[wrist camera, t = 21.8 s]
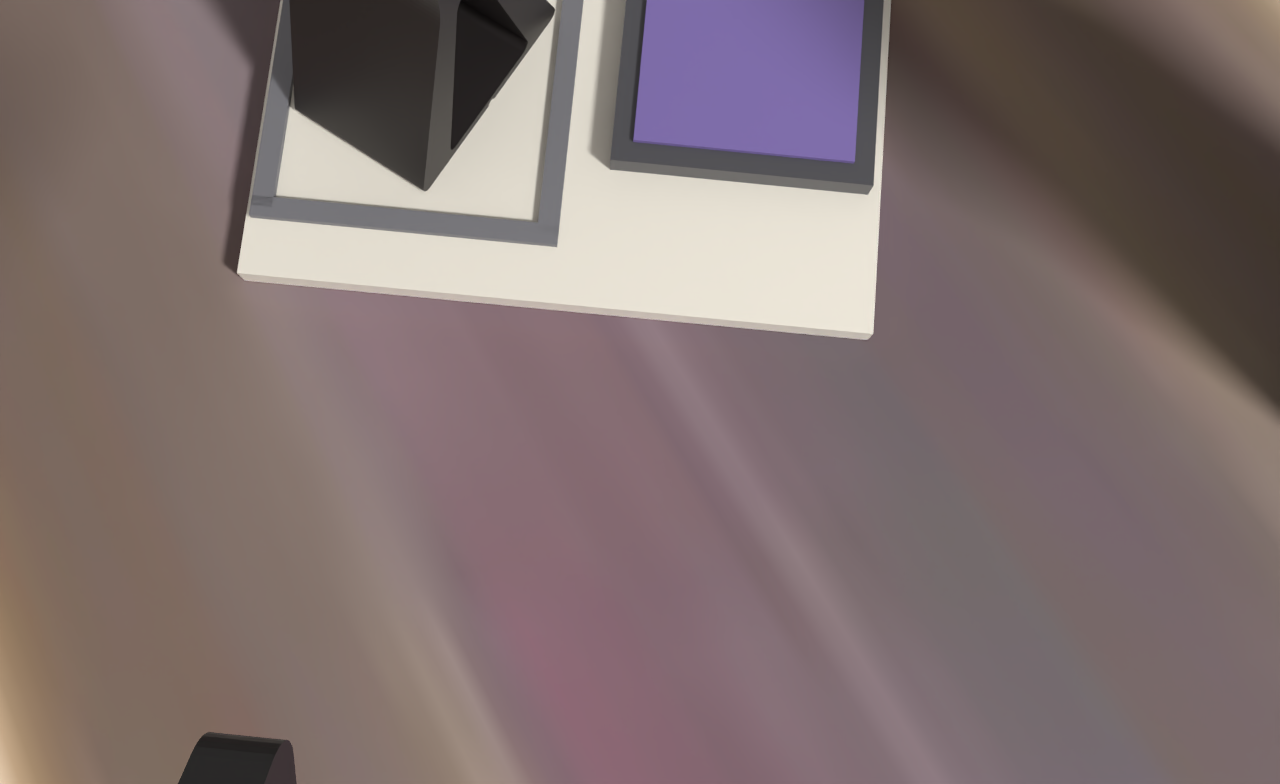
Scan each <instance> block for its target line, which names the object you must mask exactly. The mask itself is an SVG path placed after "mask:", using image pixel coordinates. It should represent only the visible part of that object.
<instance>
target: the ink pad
mask: <svg viewBox="0 0 1280 784" xmlns="http://www.w3.org/2000/svg"><path fill="white" fill-rule="evenodd" d="M883 5H884V0H626V7H625V17H624V27H623V37H622V47H621V57H620V67H619V77H618V87H617V97H616V107H615V117H614V127H613V137H612V147H611V157H610V170H619V171H629V172H639V173H650V174H660V175H670V176H680V177H691V178H701V179H711V180H721V181H732V182H742V183H752V184H762V185H772V186H783V187H793V188H803V189H813V190H824V191H834V192H844V193H854V194H865V195H868V194H869V192H870V190H871V189H872V187H873V186H874V169H875V150H876V132H877V114H878V96H879V78H880V59H881V41H882V23H883Z"/></svg>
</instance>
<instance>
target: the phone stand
mask: <svg viewBox="0 0 1280 784" xmlns="http://www.w3.org/2000/svg"><path fill="white" fill-rule="evenodd" d="M289 4H290V24H291V44H292V65H293V85H294V105H295V110H297V111H299V112H300V113H302V114H303V115H305V116H306V117H308V118H310V119H311V120H313V121H314V122H316V123H317V124H319V125H321V126H322V127H324V128H325V129H327V130H328V131H330V132H332V133H333V134H335V135H336V136H338V137H339V138H341V139H343V140H344V141H346V142H347V143H349V144H350V145H352V146H354V147H355V148H357V149H358V150H360V151H361V152H363V153H365V154H366V155H368V156H369V157H371V158H372V159H374V160H376V161H377V162H379V163H380V164H382V165H384V166H385V167H387V168H388V169H390V170H391V171H393V172H395V173H396V174H398V175H399V176H401V177H402V178H404V179H406V180H407V181H409V182H410V183H412V184H413V185H415V186H417V187H418V188H420V189H421V190H423V191H427V190H428V189H429V188H430V187H431V185H432V184H433V183H434V181H435V180H436V179H437V177H438V176H439V174H440V173H441V172H442V170H443V169H444V167H445V166H446V165H447V163H448V162H449V161H450V159H451V158H452V156H453V155H454V154H455V152H456V151H457V149H458V148H459V147H460V145H461V144H462V143H463V141H464V140H465V138H466V137H467V136H468V134H469V133H470V132H471V130H472V129H473V127H474V126H475V125H476V123H477V122H478V120H479V119H480V118H481V116H482V115H483V114H484V112H485V111H486V109H487V108H488V107H489V103H490V101H491V100H492V99H494V98H495V97H496V96H497V94H498V93H499V91H500V90H501V89H502V87H503V86H504V84H505V83H506V82H507V80H508V79H509V78H510V76H511V75H512V73H513V72H514V71H515V69H516V68H517V67H518V65H519V64H520V62H521V61H522V60H523V58H524V57H525V55H526V54H527V53H528V51H529V50H530V49H531V47H532V46H533V44H534V43H535V42H536V40H537V39H538V37H539V36H540V35H541V33H542V32H543V31H544V29H545V28H546V26H547V25H548V24H549V22H550V21H551V19H552V18H553V15H554V13H555V8H554V7H553V6H552V5H551V4H550V3H549V2H548V1H547V0H289Z"/></svg>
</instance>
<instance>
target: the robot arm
mask: <svg viewBox="0 0 1280 784" xmlns="http://www.w3.org/2000/svg"><path fill="white" fill-rule="evenodd" d="M178 784H296V774H295V765H294V755H293V748H292V745H291V743H290V741H288V740H281V739H271V738H261V737H251V736H242V735H232V734H222V733H212V732H208V733H206V734H204V735H203V736H202V737H201V738H200V740H199V741H198V742H197V744H196V746H195V748H194V750H193V752H192V754H191V756H190V758H189V760H188V763H187V765H186V767H185V769H184V772H183V774H182V776H181V778H180V781H179V783H178Z"/></svg>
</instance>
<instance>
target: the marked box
mask: <svg viewBox="0 0 1280 784" xmlns="http://www.w3.org/2000/svg"><path fill="white" fill-rule="evenodd" d="M583 1H584V0H563V1H562V10H561V19H560V28H559V37H558V46H557V55H556V64H555V73H554V82H553V92H552V101H551V110H550V119H549V128H548V137H547V146H546V155H545V164H544V173H543V182H542V191H541V200H540V209H539V218H538V223H537V222H527V221H517V220H506V219H496V218H486V217H475V216H465V215H455V214H444V213H434V212H424V211H413V210H403V209H393V208H382V207H372V206H362V205H351V204H341V203H331V202H320V201H310V200H300V199H289V198H279V197H276V193H277V186H278V180H279V173H280V167H281V161H282V154H283V148H284V141H285V135H286V128H287V122H288V115H289V109H290V103H291V96H292V90H293V65H292V44H291V24H290V4H289V0H283V4H282V10H281V16H280V23H279V29H278V35H277V42H276V48H275V54H274V60H273V67H272V73H271V79H270V85H269V92H268V98H267V104H266V111H265V117H264V123H263V129H262V136H261V142H260V148H259V154H258V161H257V167H256V173H255V180H254V186H253V192H252V198H251V205H250V211H249V216H250V217H251V218H259V219H270V220H280V221H290V222H301V223H311V224H322V225H332V226H342V227H353V228H363V229H373V230H384V231H394V232H405V233H415V234H425V235H436V236H446V237H456V238H467V239H477V240H487V241H498V242H508V243H519V244H529V245H539V246H550V247H557V244H558V235H559V225H560V216H561V207H562V197H563V188H564V179H565V169H566V160H567V151H568V141H569V132H570V123H571V113H572V104H573V95H574V85H575V76H576V67H577V57H578V48H579V39H580V29H581V20H582V11H583Z"/></svg>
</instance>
